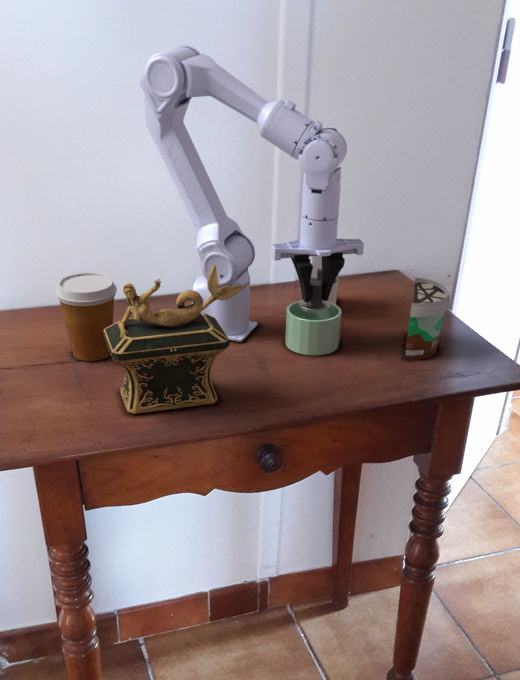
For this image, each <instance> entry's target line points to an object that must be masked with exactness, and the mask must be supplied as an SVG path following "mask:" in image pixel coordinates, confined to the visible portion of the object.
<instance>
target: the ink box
mask: <svg viewBox="0 0 520 680" xmlns="http://www.w3.org/2000/svg"><path fill="white" fill-rule="evenodd" d="M338 238H339V239H342V238H341V237H338ZM310 263H311V264H312V265H313V270H312V275H311V280H320V281H321V280H322V257H321V256H311V258H310ZM338 286H339V275H338V276H337V277H336V279H335V281H334V284H333V286H332V289H331V292H330V295H329V299H328V301H329V302H331V303H333V304H335V305H337V300H338V299H337V297H338Z"/></svg>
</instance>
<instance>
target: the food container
mask: <svg viewBox="0 0 520 680" xmlns="http://www.w3.org/2000/svg"><path fill="white" fill-rule="evenodd" d="M450 308H451V295H450V292H449V290H448V288H447V287H446V286H445V285H443V284H441V283H439V282H437V281H434V280H431V279H427V278H422V277H414V284H413V289H412V299H411V306H410V314H409V315H410V316H409V321H408V329H407V337H406V345H405V352H404V353H405V354H404V360H423V359H427V358H430V357H432V356H433V355H435V354H436V352H437V348H438V344H439V339H440V334H441V331H442V327H443V322H444V318H445V313H446V312H447V311H449V310H450Z"/></svg>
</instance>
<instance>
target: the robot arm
mask: <svg viewBox="0 0 520 680" xmlns="http://www.w3.org/2000/svg"><path fill="white" fill-rule="evenodd" d="M139 85H140V87H141V90H142V91H143V93H144V94H143V99H144V118H145V120H144V121H145V124H146V128H147V131H148V132H149V134H150V136H151V138H152V141H153V142H154V144H155V146H156V149H157V150H158V151H157V152H159V155H160V157H161V160H162V161H163V163H164V165H165V168H166V170H167V171H168V174H169V176H170V178H171V180H172V182H173V183H174V186H175V188H176V190H177V192H178V195H179V196H180V198H181V201H182V202H183V204H184V206H185V209H186V211H187V213H188V216H189V217H190V220H191V221H192V223H193V225H194V227H195V229H196V231H197V237H196V251H197V253H198V255H199V258H200V269H201V273H202V275H200V276H198V277H197V278H196V279H195V281H194V283H193V286H192V290H193V291H196V292H198V293H199V294H200V295H201V297H202V299H203V305H204V303H205V302H206V301H207V300H208V298H209V297H210V296H211V293H210V292H209V290H208V287H207V281H208V277H209V275H210V272H211V270H212V267H213V264H214V263H215V264H216V269H217V277H218V287H217V288H218V289H220V288H222V287H224V286H246V287H245V288H244V289H242V290H241V291H239V292H238V293H237V294H235V295H234V296H232V297H231V298H229V299H227V300H219V299H217V300H215V301H214V302H212V303H211V304H210V305H208V306H207V308H205V309H204V310H203V311H201V312H203V313H205V314H207V315H210V316H212V317H214V318H216V320H217V321H218V323H219V324H220V326H221V327H222V329H223V331H224V332H225V334H226V335H227V337H228V338H229V340H230V341H233V342H239V343H241V342H243V341H244V340H245V339H246V338H247V337H248V336H249V335H250V333H252V332H253V330H254V329H255V328H257V326H258V322H257V321H253V320H250V318H251V317H250V311H251V310H250V309H251V307H250V305H251V276H250V273H249V267H251V265H252V264H253V263H254V261H255V259H256V249H255V245H254V243H253V242H252V240H251V239H250V238H249V237H248V236H247V235H246V234H244V233H243V231H242V230H241V227H240V225H239V224H238V222H237V221H235V220H234V219H232V218H230V217H229V216H228V215H227V213H226V210H225V209H224V206H223V204H222V202H221V200H220V198H219V196H218V193H217V191H216V189H215V187H214V185H213V183H212V181H211V178H210V176H209V174H208V172H207V170H206V167H205V165H204V163H203V161H202V159H201V157H200V155H199V153H198V149H197V148H196V146H195V144H194V141H193V139H192V138H191V137H192V136H191V135H190V133H189V131H188V129H187V127H186V125H185V122H184V119H185V116H186V113H187V110H188V108H189V104H190V102H191V100H192V98H200V97H211V98H213V99H215V100H216V101H218V102H220V103H222V104H223V105H225V106H227V108H230V109H231V110H233V111H235V112H237V113H238V114H240V115H242V116H243V117H245V118H247V119H248V120H251V121H252V122H254V123H256V126H257V129H258V132H259V135H260V137H261V138H263V139H265V140H266V141H268V142H269V143H270V144H272V145H273V146H275V147H277V149H279V150H281V151H283V152H284V153H286V154H287V155H289V156H290V157H292V158H293V159H295V160H298V164H299V166H300V168H301V170H302V171H303V180H302V181H303V183H302V193H301V213H300V232H299V233H300V234H299V235H300V236H299V239H296V240H291V241H286V242H282V243H281V242H280V243H272V244H271V258H272V259H273V260H274V261H281V260H282V259H291V262H292V265H293V267H294V269H295V272H296V275H297V278H298V281H299V286H300V292H301V293H300V294H301V300H302V299H303V300H304V302H309V301H310V282H311V275H312V270H313V265H312V264H311V258H312V256H321V257H322V280H321V281H322V282H324V292H323V300H324V301H328V299H329V295H330V292H331V289H332V286H333V284H334V281H335V279H336V277H337V276H338V277H339V274H340V272H341V271H342V269H343V268H344V267H345V263H346V259H345V257H344V255H357V256H363V255H364V247H365V242H364V241H363V240H362V239H361V238H341V239H339V238H340V237H338V226H339V213H340V200H341V179H342V178H341V175H342V174H341V173H342V167H341V165H342V164H343V162H344V160H345V158H346V156H347V151H348V145H347V141H346V139H345V137H344V136H343V134H342V133H341V132H340V131H338V129H337V128H336V127H333V126H325V127H323V126H324V124H323V122H321V121H319V120H317V121H314V120H312V119H311V118H309V117H308V116H306V115H305V114H303V113H302V112H300V111H298V110H297V109H295V108H296V107H297V104H296V103H295V102H293V101H292V100H287V101H284V100H282V99H278V100H275V101H268V100H266V99H265V98H264V97H262V96H261V95H260V94H259V93H257V92H256V91H254V90H253V89H252V88H251V87H249V86H248V85H246V84H245V83H244V82H242V81H241V80H240V79H238V78H237V77H235V76H234V75H233V74H232V73H230V72H229V71H227V70H226V69H224V68H223V67H222V66H221V65H219V64H218V63H217V62H216V61H215V60H214V59H213V58H212V57H211V56H209V55H207V54H205V53H200V51H199V50H197V49H196V48H195V47H193V46H191V45H180V46H177V47H175V48H174V49H171V50H167V51H165V52H158V53H154V54H153V55H152V56H150V58H148V60H147V61H146V63H145V65H144V68H143V71H142V73H141V77H140V79H139ZM192 304H193V302H192V301H191V305H192Z"/></svg>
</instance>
